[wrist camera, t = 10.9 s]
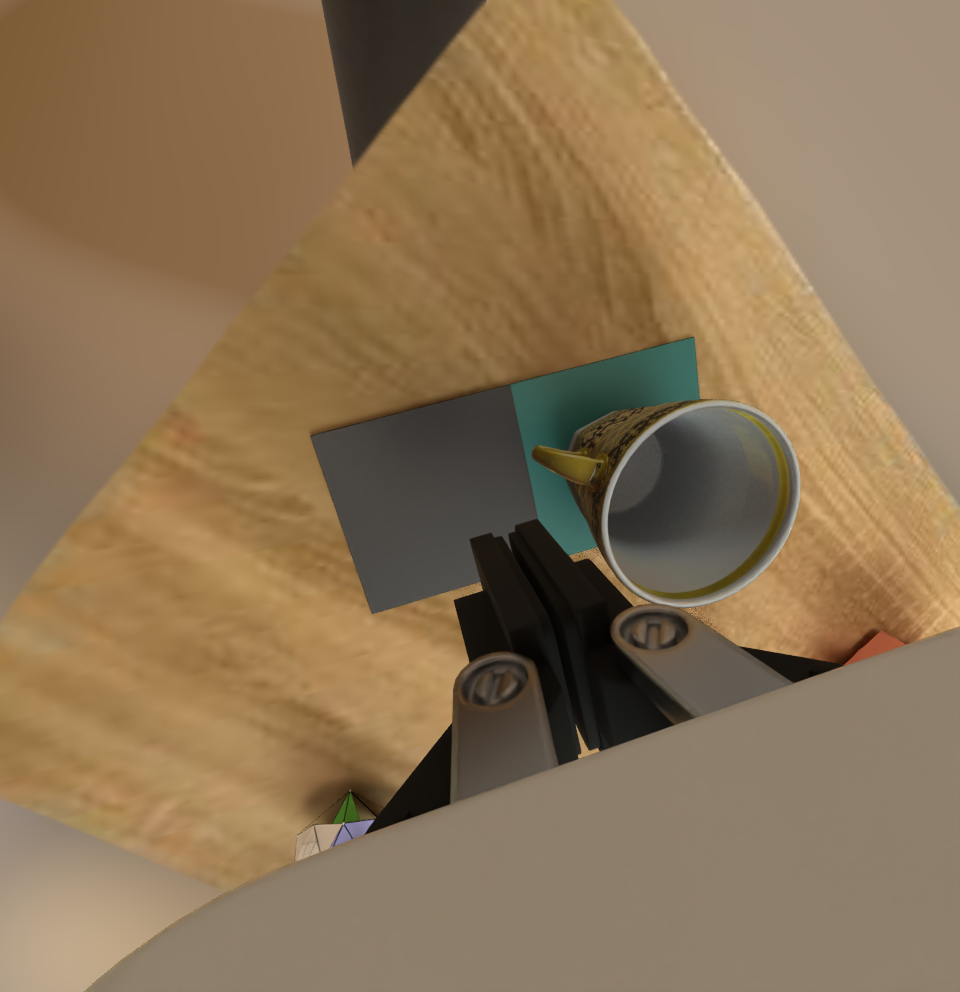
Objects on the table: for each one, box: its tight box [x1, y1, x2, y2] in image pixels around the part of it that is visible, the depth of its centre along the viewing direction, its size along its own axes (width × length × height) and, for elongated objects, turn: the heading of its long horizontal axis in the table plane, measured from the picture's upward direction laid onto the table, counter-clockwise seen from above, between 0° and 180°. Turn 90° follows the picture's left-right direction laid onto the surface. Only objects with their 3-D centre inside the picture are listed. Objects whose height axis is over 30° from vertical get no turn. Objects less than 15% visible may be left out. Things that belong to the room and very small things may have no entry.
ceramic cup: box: [532, 399, 801, 608], centre depth 27 cm, size 13×10×10 cm
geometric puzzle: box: [295, 790, 383, 862], centre depth 33 cm, size 7×7×8 cm
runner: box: [311, 337, 700, 614], centre depth 31 cm, size 12×24×1 cm, turn 103°
